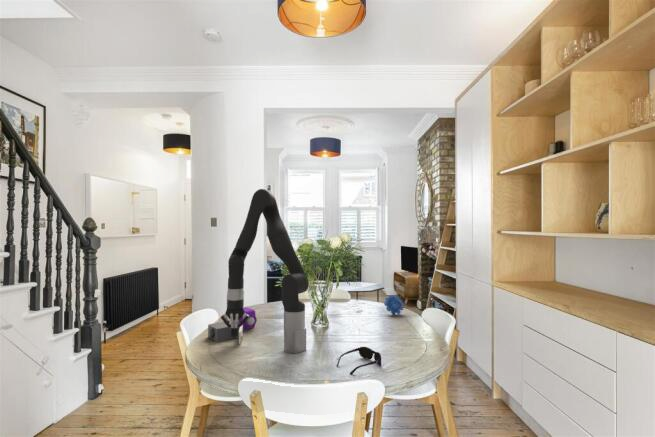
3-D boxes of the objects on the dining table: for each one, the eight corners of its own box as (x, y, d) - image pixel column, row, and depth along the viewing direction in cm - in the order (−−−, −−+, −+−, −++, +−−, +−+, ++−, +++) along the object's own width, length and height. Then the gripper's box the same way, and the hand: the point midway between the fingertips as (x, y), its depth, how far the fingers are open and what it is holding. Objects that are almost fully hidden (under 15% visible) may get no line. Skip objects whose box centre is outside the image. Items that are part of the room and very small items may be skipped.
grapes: (385, 316, 206) (385, 296, 206) (383, 313, 213) (383, 293, 213) (405, 316, 206) (404, 296, 206) (402, 313, 213) (402, 293, 213)
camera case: (240, 336, 170) (240, 322, 170) (214, 342, 161) (214, 328, 161) (231, 331, 177) (231, 318, 177) (205, 337, 168) (205, 323, 168)
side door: (244, 335, 170) (244, 324, 170) (242, 344, 158) (242, 332, 158) (240, 335, 170) (240, 324, 170) (238, 344, 158) (238, 332, 158)
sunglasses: (386, 367, 134) (386, 354, 134) (355, 378, 124) (355, 364, 125) (363, 356, 145) (363, 344, 145) (332, 365, 136) (332, 352, 136)
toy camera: (246, 332, 175) (246, 313, 176) (229, 328, 184) (229, 309, 184) (262, 327, 184) (262, 308, 184) (245, 323, 192) (245, 305, 192)
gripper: (251, 296, 164) (250, 333, 164) (222, 296, 163) (221, 333, 163) (248, 299, 157) (247, 338, 156) (218, 299, 156) (217, 338, 155)
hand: (234, 335), depth 160 cm, fingers closed
